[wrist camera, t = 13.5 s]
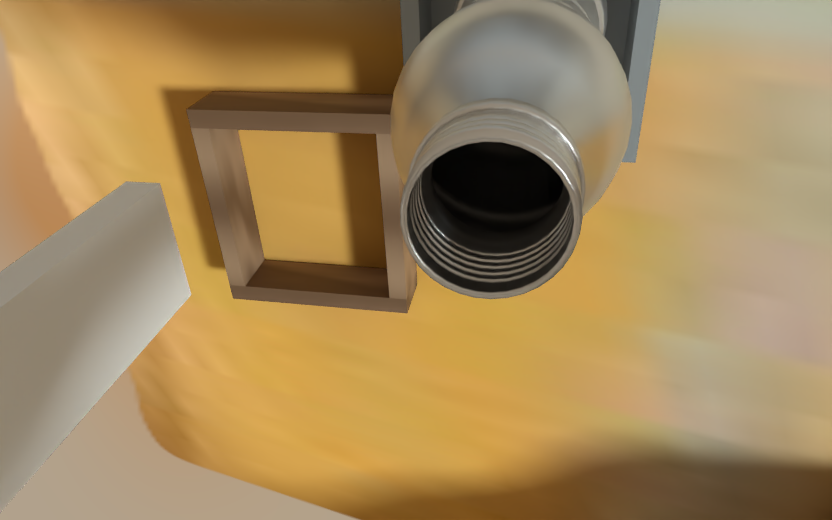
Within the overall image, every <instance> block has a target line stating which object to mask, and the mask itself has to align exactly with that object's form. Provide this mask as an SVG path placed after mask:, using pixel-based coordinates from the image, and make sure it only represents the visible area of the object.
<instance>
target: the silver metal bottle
mask: <svg viewBox="0 0 832 520" xmlns="http://www.w3.org/2000/svg"><path fill="white" fill-rule="evenodd" d="M606 26H607V1H606V0H456V4H455V9H454V14H452V15H451V16H450V17H448V18H447V19H445V20H444V21H443V22H441V23H440V24H439V25H438V26H436V27H435V28H434V29H433V30H432V31H431V32H430V33H429V34H428V35H427V36H426V37H425V38H424V39H423V40H422V41H421V42H420V43H419V45H418V46H417V47H416V48H415V49H414V51H413V53H412V54H411V56H410V57H409V59H408V61H407V62H406V64H405V65H404V67H403V69H402V71H401V74H400V77H399V79H398V82H397V85H396V87H395V90H394V95H393V101H392V107H391V113H390V119H391V141H392V149H393V153H394V158H395V162H396V167H397V170H398V172H399V175H400V177H401V179H402V181H403V184H404V189H403V194H402V199H401V204H400V206H401V207H400V225H401V229H402V234H403V238H404V241H405V243H406V246H407V248H408V250H409V252H410V254H411V256H412V257H413V259H414V260H415V261H416V263H417V264H418V266H419V267H420V268H421V269H422V270H423V271H424V272H425V273H426V274H427V275H428V276H429V277H430V278H432V279H433V280H435V281H436V282H438V283H439V284H441V285H442V286H444V287H446V288H448V289H450V290H452V291H455V292H457V293H459V294H463V295H467V296H471V297H474V298H485V299H498V298H509V297H513V296H517V295H521V294H524V293H527V292H529V291H531V290H533V289H536V288H538V287H540V286H541V285H542V284H544V283H545V282H547V281H548V280H550V279H551V278H553V277H554V276H555V275H556V274H557V273H558V272H559V271H560V270H561V269H562V268H563V267H564V265H565V264H566V262H567V261H568V259H569V257H570V256H571V254H572V253H573V250H574V248H575V245H576V243H577V240H578V238H579V234H580V230H581V224H582V218H583V216H584V215H585V214H586V213H587V212H588V211H589V210H590V209H591V208H592V207H593V206H594V205H595V204H596V203H597V202H598V201H599V199H600V198H601V196H602V195H603V193H604V192H605V190H606V189H607V187H608V186H609V184H610V183H611V181H612V179H613V178H614V176H615V174H616V173H617V171H618V169H619V167H620V164H621V162H622V159H623V157H624V154H625V152H626V149H627V147H628V142H629V136H630V131H631V126H632V99H631V95H630V90H629V86H628V82H627V78H626V74H625V72H624V70H623V68H622V66H621V64H620V62H619V60H618V58H617V56H616V53H615V52H614V50H613V48H612V46H611V44H610V43H609V42H608V41H607V39H606V38H605V32H606Z"/></svg>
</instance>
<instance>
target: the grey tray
mask: <svg viewBox="0 0 832 520" xmlns="http://www.w3.org/2000/svg"><path fill="white" fill-rule="evenodd" d="M606 1H607V26H606V32H605V38H606V39H607V41H608V42H609V43H610V44H611V46H612V48H613V50H614V52H615V53H616V56H617V58H618V60H619V62H620V64H621V66H622V68H623V70H624V72H625V74H626V78H627V82H628V86H629V90H630V95H631V99H632V126H631V131H630V136H629V142H628V147H627V149H626V152H625V154H624V157H623V159H622V162H636V155H637V149H638V143H639V136H640V130H641V123H642V117H643V110H644V104H645V97H646V91H647V85H648V78H649V72H650V65H651V59H652V52H653V46H654V40H655V33H656V27H657V20H658V14H659V7H660V1H661V0H606ZM455 4H456V0H400V8H401V27H402V45H403V63H404V65H405V64H406V62H407V61H408V59H409V57H410V56H411V54H412V53H413V51H414V49H415V48H416V47H417V46H418V45H419V43H420V42H421V41H422V40H423V39H424V38H425V37H426V36H427V35H428V34H429V33H430V32H431V31H432V30H433V29H434V28H435V27H436V26H438V25H439V24H440V23H441V22H443V21H444V20H445V19H447V18H448V17H450V16H451V15H452V14H454V9H455Z"/></svg>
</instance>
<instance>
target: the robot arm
mask: <svg viewBox="0 0 832 520" xmlns="http://www.w3.org/2000/svg"><path fill="white" fill-rule="evenodd" d="M190 296H191V292H190V288H189V285H188V281H187V278H186V274H185V271H184V267H183V263H182V260H181V256H180V253H179V249H178V246H177V242H176V239H175V235H174V231H173V228H172V224H171V221H170V217H169V214H168V210H167V207H166V203H165V199H164V196H163V192H162V189H161V185H160V183H145V182H125V183H124V184H122V185H121V186H119V187H118V188H117V189H115V190H114V191H112V192H111V193H110V194H108V195H107V196H106V197H104V198H103V199H101V200H100V201H99V202H97V203H96V204H94V205H93V206H92V207H90V208H89V209H87V210H86V211H85V212H83V213H82V214H80V215H79V216H78V217H76V218H75V219H73V220H72V221H71V222H69V223H68V224H67V225H65V226H64V227H62V228H61V229H60V230H58V231H57V232H56V233H54V234H53V235H51V236H50V237H48V238H47V239H46V240H44V241H43V242H41V243H40V244H39V245H37V246H36V247H35V248H33V249H32V250H30V251H29V252H27V253H26V254H25V255H23V256H22V257H20V258H19V259H18V260H16V261H15V262H13V263H12V264H11V265H9V266H8V267H6V268H5V269H4V270H2V271H1V272H0V513H1V511H2V510H3V509H4V508H5V507H6V506H7V505H8V503H9V502H10V501H11V500H12V499H13V498H14V496H15V495H16V494H17V493H18V492H19V491H20V490H21V488H22V487H23V486H24V485H25V484H26V483H27V482H28V481H29V479H30V478H31V477H32V476H33V475H34V474H35V473H36V471H37V470H38V469H39V468H40V467H41V466H42V465H43V463H44V462H45V461H46V460H47V459H48V458H49V457H50V456H51V454H52V453H53V452H54V451H55V450H56V449H57V448H58V446H59V445H60V444H61V443H62V442H63V441H64V440H65V438H66V437H67V436H68V435H69V434H70V432H71V431H72V430H73V429H74V428H75V427H76V426H77V425H78V423H79V422H80V421H81V420H82V419H83V418H84V417H85V416H86V414H87V413H88V412H89V411H90V410H91V409H92V407H93V406H94V405H95V404H96V403H97V402H98V401H99V399H100V398H101V397H102V396H103V395H104V394H105V393H106V392H107V390H108V389H109V388H110V387H111V386H112V385H113V384H114V382H115V381H116V380H117V379H118V378H119V377H120V376H121V374H122V373H123V372H124V371H125V370H126V369H127V368H128V366H129V365H130V364H131V363H132V362H133V361H134V360H135V358H136V357H137V356H138V355H139V354H140V353H141V352H142V350H143V349H144V348H145V347H146V346H147V345H148V344H149V342H150V341H151V340H152V339H153V338H154V337H155V336H156V334H157V333H158V332H159V331H160V330H161V329H162V328H163V326H164V325H165V324H166V323H167V322H168V321H169V320H170V318H171V317H172V316H173V315H174V314H175V313H176V312H177V310H178V309H179V308H180V307H181V306H182V305H183V304H184V302H185V301H186V300H187V299H188V298H189V297H190Z"/></svg>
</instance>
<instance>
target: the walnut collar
mask: <svg viewBox="0 0 832 520" xmlns="http://www.w3.org/2000/svg"><path fill="white" fill-rule="evenodd" d="M392 101H393V95H385V94H331V93H277V92H223V91H213V92H211V93H210V94H208V95H207V96H205V97H204V98H202V99H201V100H200V101H198V102H197V103H195V104H194V105H192V106H191V107H189V108H188V109H186V111H187V115H188V119H189V123H190V127H191V131H192V135H193V139H194V143H195V147H196V151H197V155H198V159H199V163H200V167H201V171H202V175H203V179H204V183H205V187H206V191H207V195H208V199H209V203H210V207H211V211H212V215H213V219H214V223H215V227H216V231H217V235H218V239H219V243H220V247H221V252H222V256H223V260H224V264H225V268H226V272H227V276H228V280H229V284H230V288H231V292H232V296H233V298H234V299H246V300H258V301H269V302H281V303H293V304H304V305H316V306H328V307H340V308H351V309H363V310H375V311H387V312H398V313H408V310H409V307H410V304H411V301H412V298H413V295H414V292H415V289H416V286H417V271H416V261H415V260H414V259H413V257H412V256H411V254H410V252H409V250H408V248H407V246H406V243H405V241H404V238H403V234H402V229H401V225H400V207H401V206H400V204H401V199H402V194H403V189H404V184H403V181H402V179H401V177H400V175H399V172H398V170H397V167H396V162H395V158H394V153H393V149H392V141H391V119H390V113H391V107H392ZM238 130H269V131H301V132H334V133H366V134H376V140H377V152H378V164H379V177H380V189H381V201H382V213H383V225H384V237H385V249H386V261H387V269H384V268H370V267H356V266H342V265H328V264H314V263H301V262H287V261H273V260H264V255H263V250H262V245H261V240H260V235H259V231H258V226H257V221H256V216H255V211H254V206H253V202H252V197H251V192H250V187H249V182H248V177H247V173H246V168H245V163H244V158H243V153H242V148H241V144H240V139H239V134H238Z"/></svg>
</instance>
